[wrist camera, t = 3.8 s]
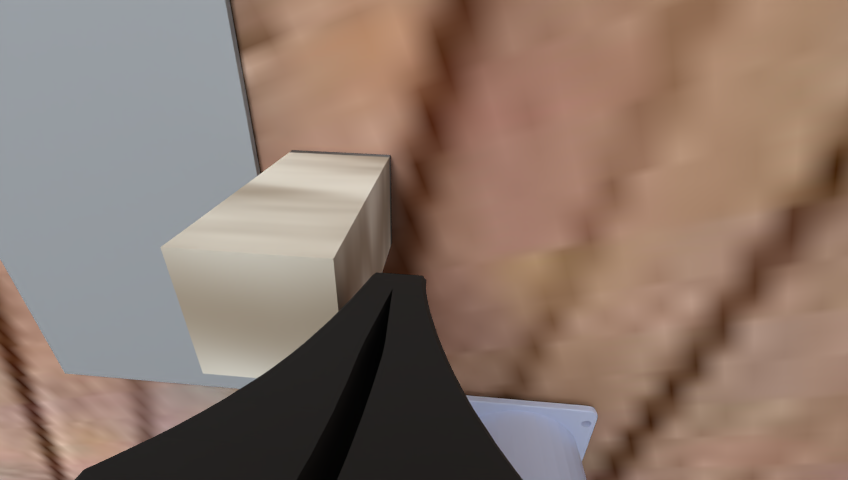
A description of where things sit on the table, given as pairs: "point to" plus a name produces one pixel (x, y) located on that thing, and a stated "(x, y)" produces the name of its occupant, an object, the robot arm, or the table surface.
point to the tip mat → (116, 170)
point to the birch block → (280, 257)
